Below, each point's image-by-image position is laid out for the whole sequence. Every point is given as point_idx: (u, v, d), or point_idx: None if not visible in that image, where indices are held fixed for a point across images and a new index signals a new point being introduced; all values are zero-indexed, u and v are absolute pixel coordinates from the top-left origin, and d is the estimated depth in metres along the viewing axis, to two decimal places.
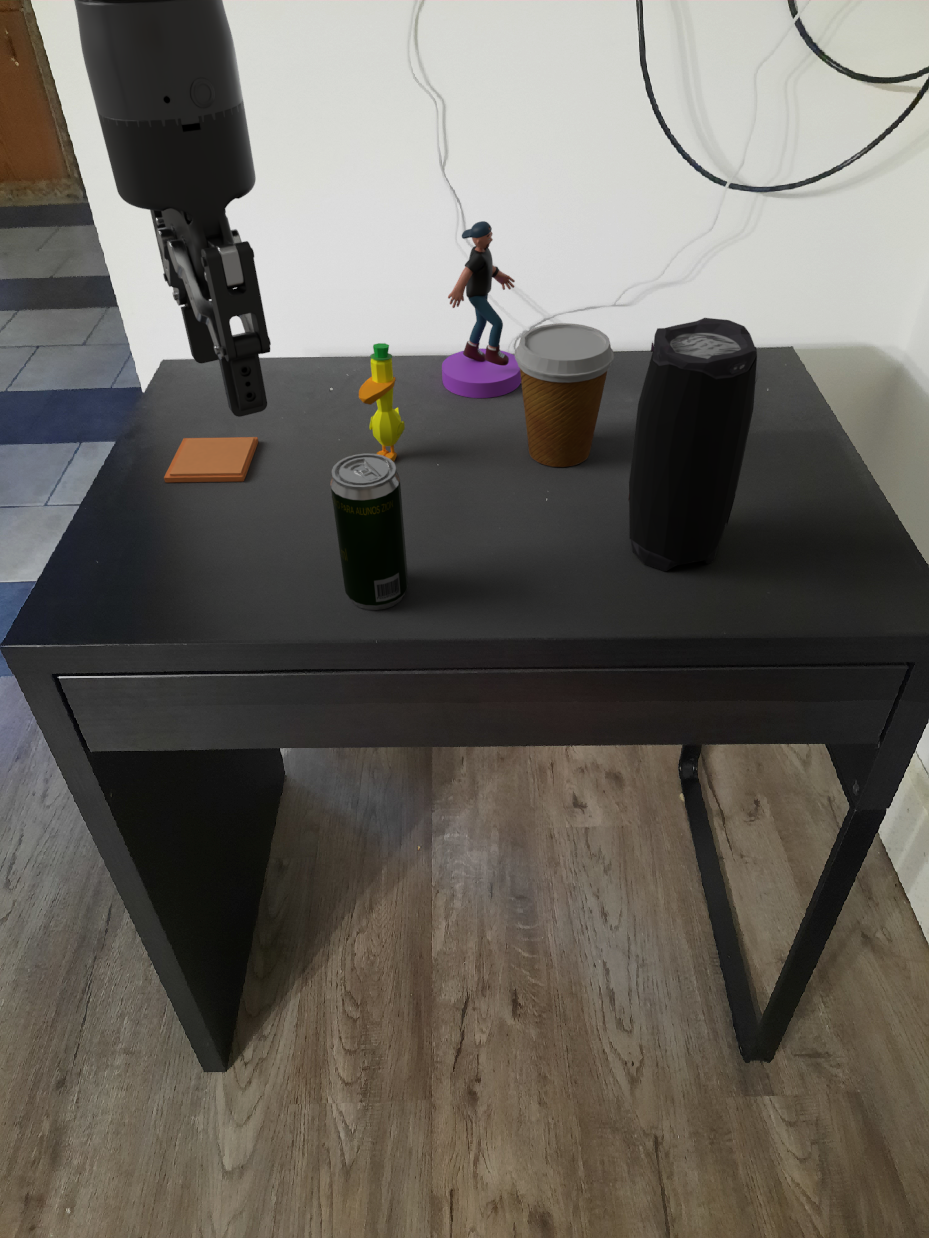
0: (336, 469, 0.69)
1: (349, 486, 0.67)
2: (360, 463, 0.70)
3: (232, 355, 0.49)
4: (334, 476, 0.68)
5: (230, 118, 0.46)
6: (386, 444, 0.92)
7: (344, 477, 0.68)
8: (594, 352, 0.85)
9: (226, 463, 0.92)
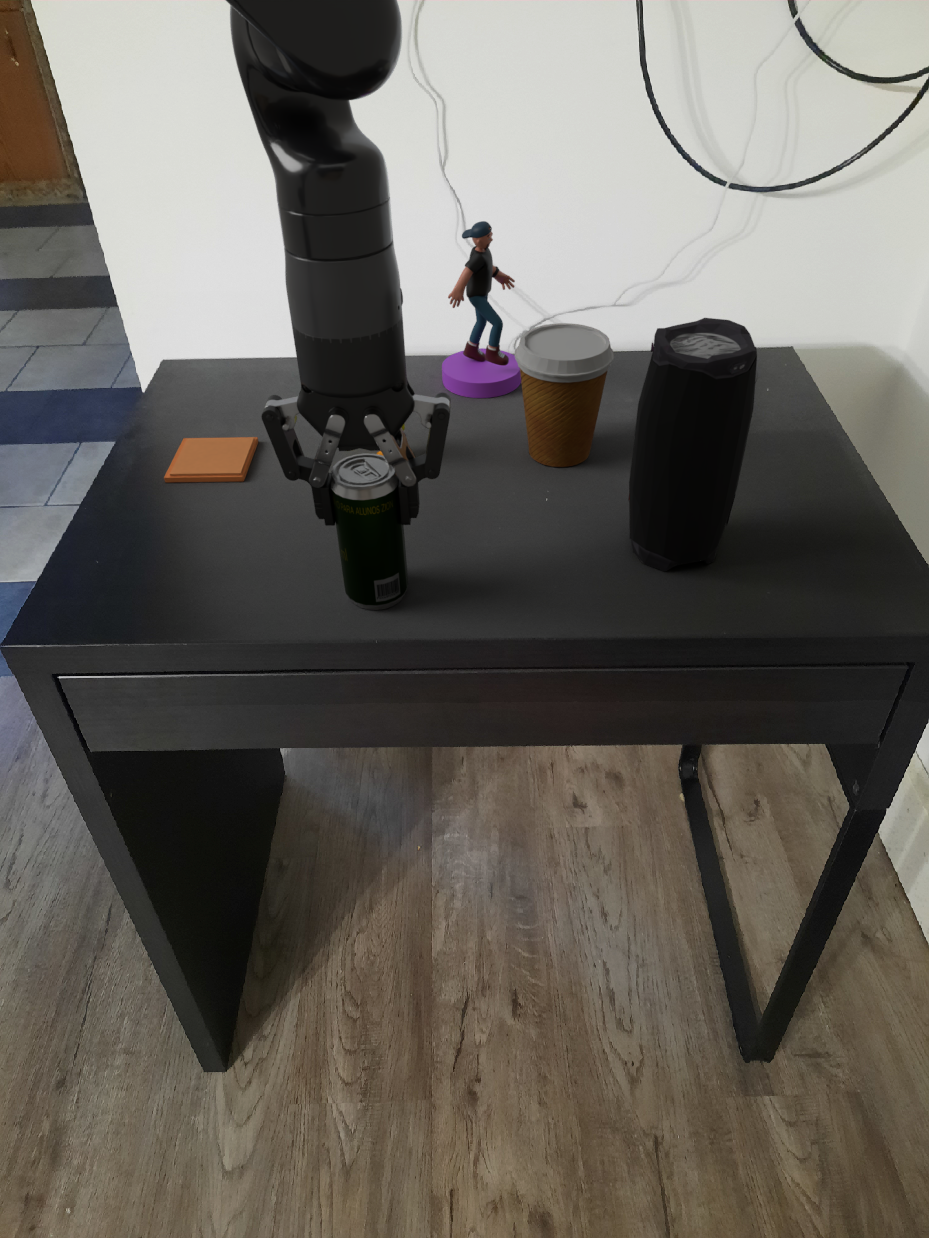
0: (336, 469, 0.69)
1: (349, 486, 0.67)
2: (360, 463, 0.70)
3: (439, 471, 0.68)
4: (334, 476, 0.68)
5: None
6: None
7: (344, 477, 0.68)
8: (594, 352, 0.85)
9: (226, 463, 0.92)
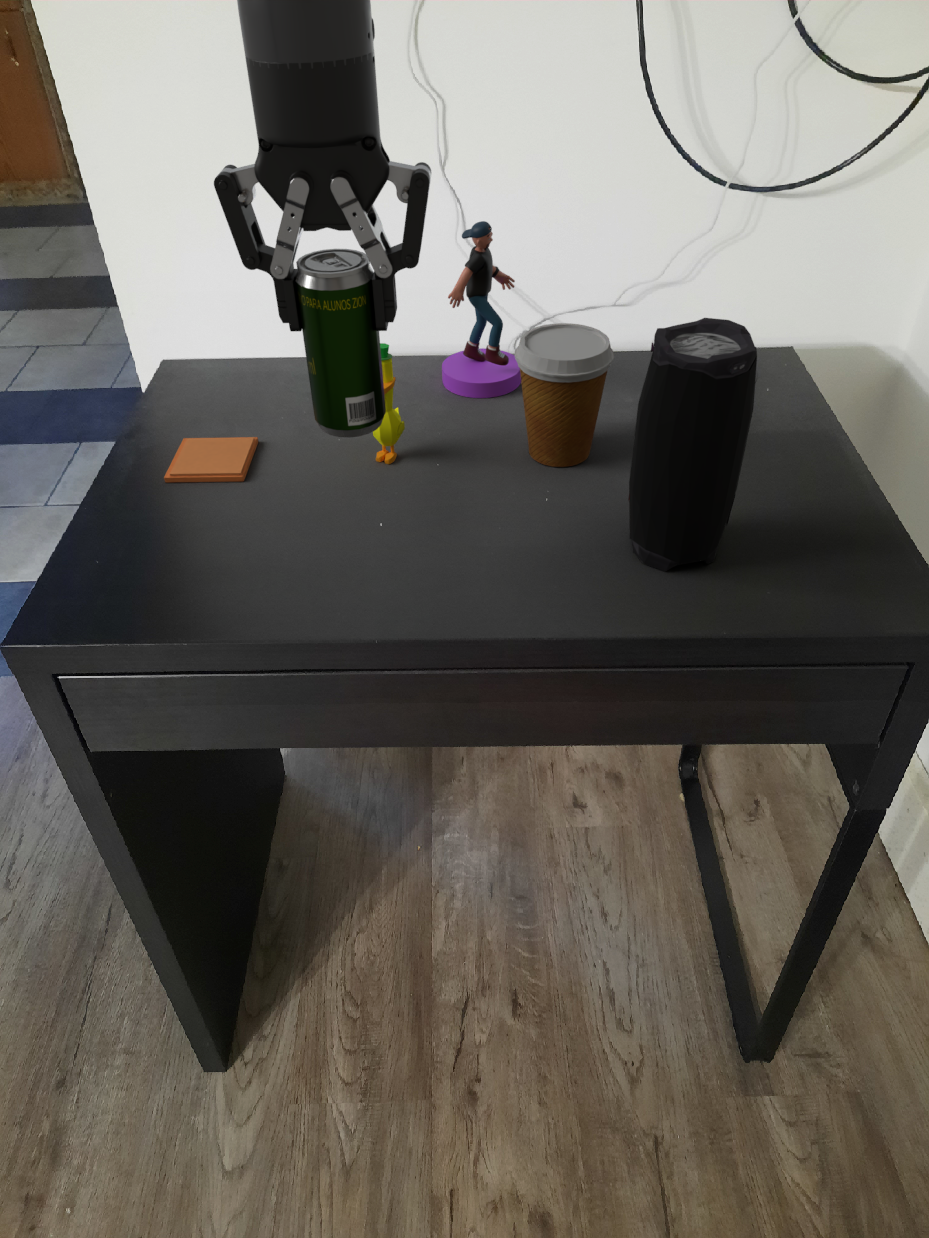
0: (302, 262, 0.61)
1: (315, 273, 0.59)
2: (329, 257, 0.62)
3: (418, 259, 0.59)
4: (299, 266, 0.60)
5: None
6: (386, 444, 0.92)
7: (310, 267, 0.60)
8: (594, 352, 0.85)
9: (226, 463, 0.92)
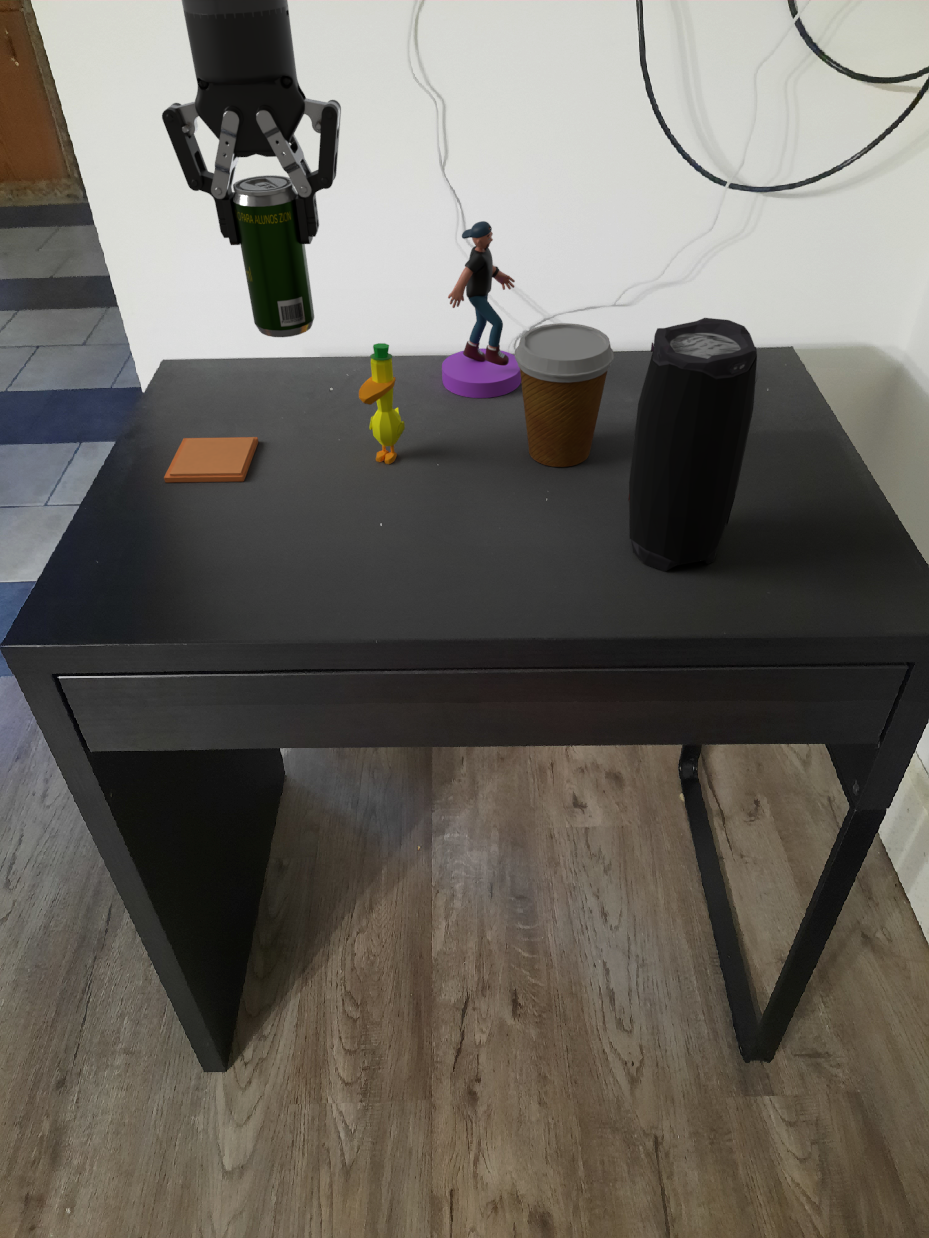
0: (238, 185, 0.74)
1: (247, 192, 0.72)
2: (261, 182, 0.75)
3: (332, 181, 0.72)
4: (234, 187, 0.73)
5: None
6: (386, 444, 0.92)
7: (243, 188, 0.73)
8: (594, 352, 0.85)
9: (226, 463, 0.92)
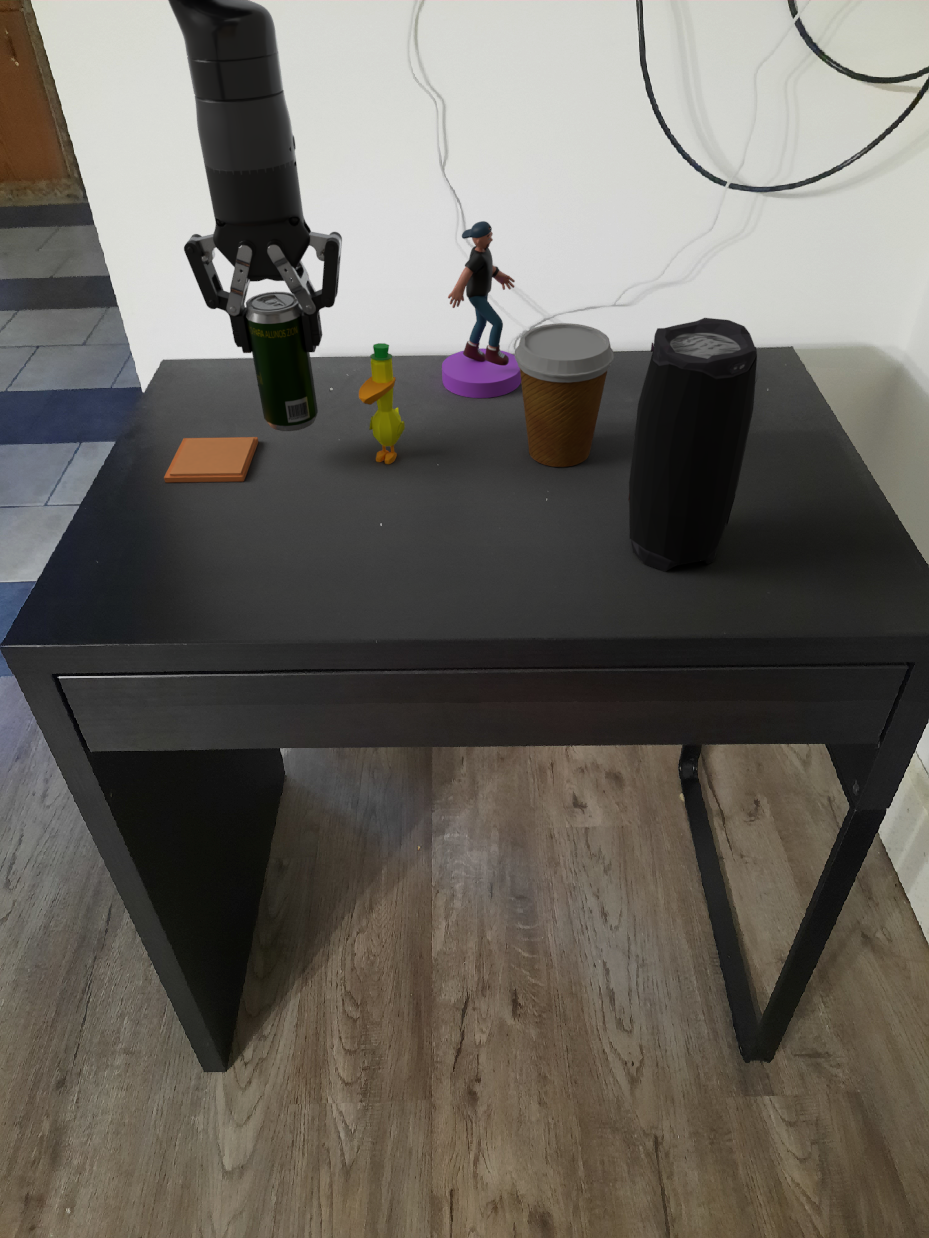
0: (250, 302, 0.83)
1: (259, 311, 0.81)
2: (271, 298, 0.84)
3: (334, 301, 0.82)
4: (247, 305, 0.82)
5: None
6: (386, 444, 0.92)
7: (255, 306, 0.82)
8: (594, 352, 0.85)
9: (226, 463, 0.92)
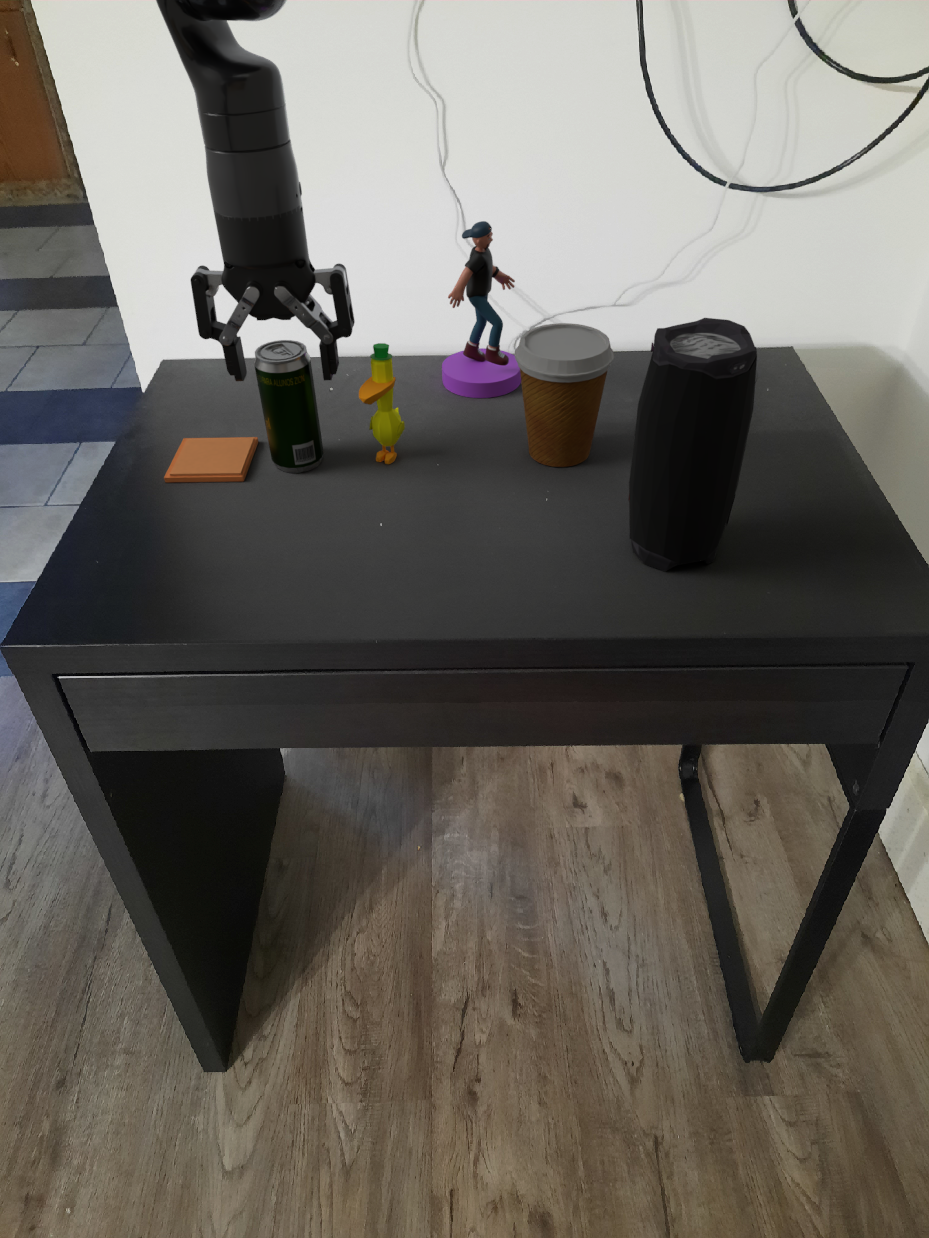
0: (259, 351, 0.86)
1: (267, 361, 0.84)
2: (278, 347, 0.87)
3: None
4: (256, 355, 0.85)
5: None
6: (386, 444, 0.92)
7: (264, 356, 0.85)
8: (594, 352, 0.85)
9: (226, 463, 0.92)
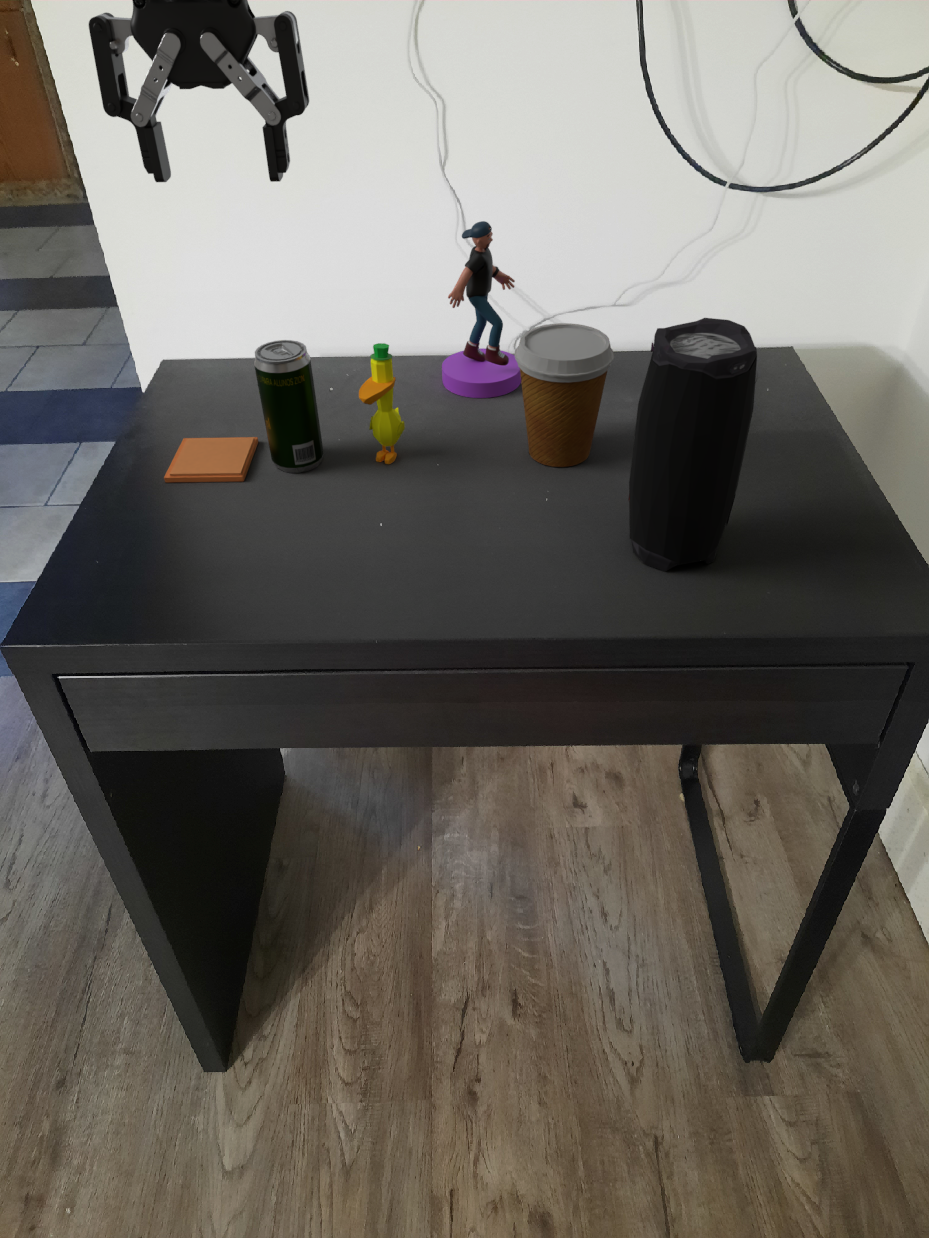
0: (259, 351, 0.86)
1: (267, 361, 0.84)
2: (278, 347, 0.87)
3: (305, 107, 0.64)
4: (256, 355, 0.85)
5: None
6: (386, 444, 0.92)
7: (264, 356, 0.85)
8: (594, 352, 0.85)
9: (226, 463, 0.92)
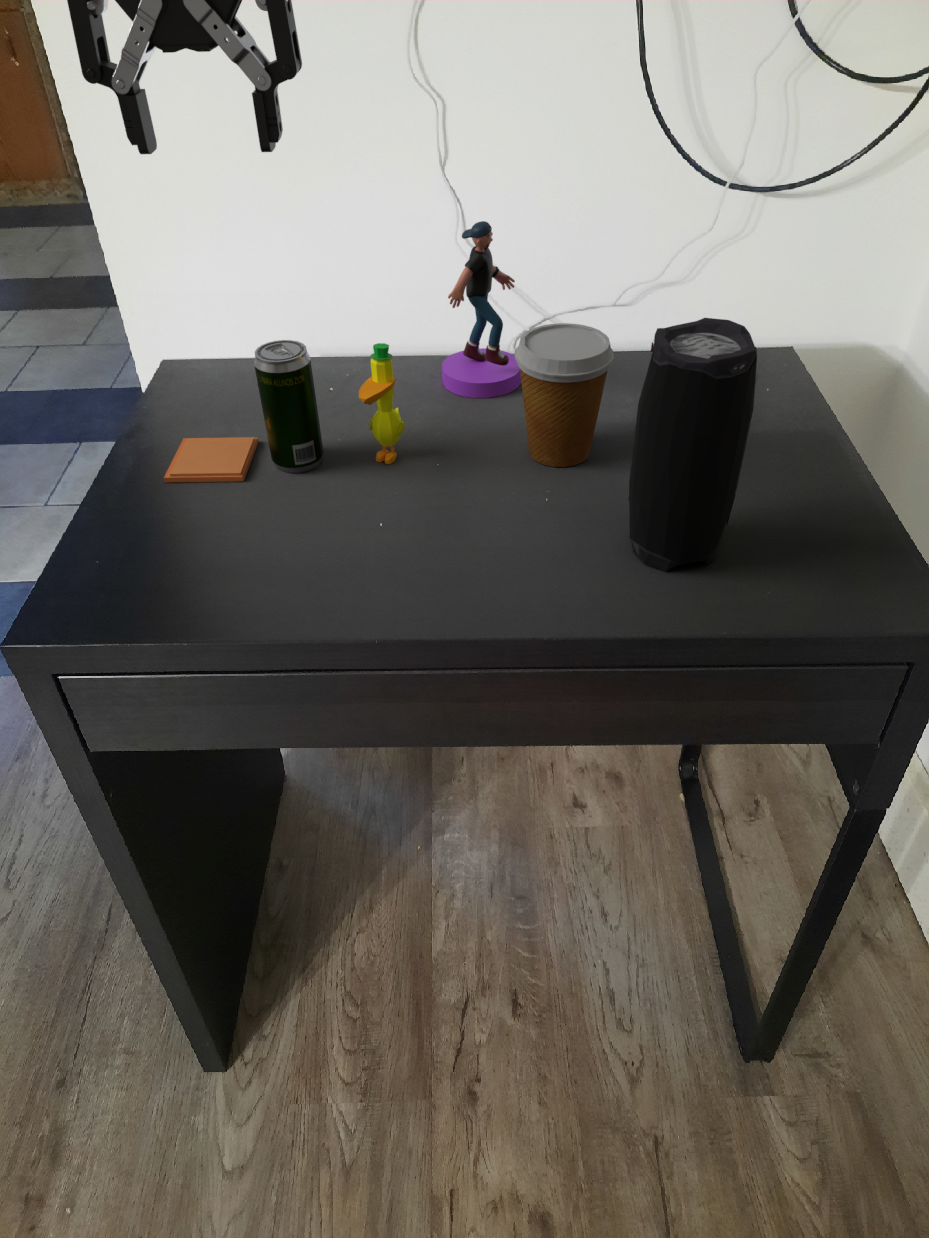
0: (259, 351, 0.86)
1: (267, 361, 0.84)
2: (278, 347, 0.87)
3: (297, 70, 0.59)
4: (256, 355, 0.85)
5: None
6: (386, 444, 0.92)
7: (264, 356, 0.85)
8: (594, 352, 0.85)
9: (226, 463, 0.92)
